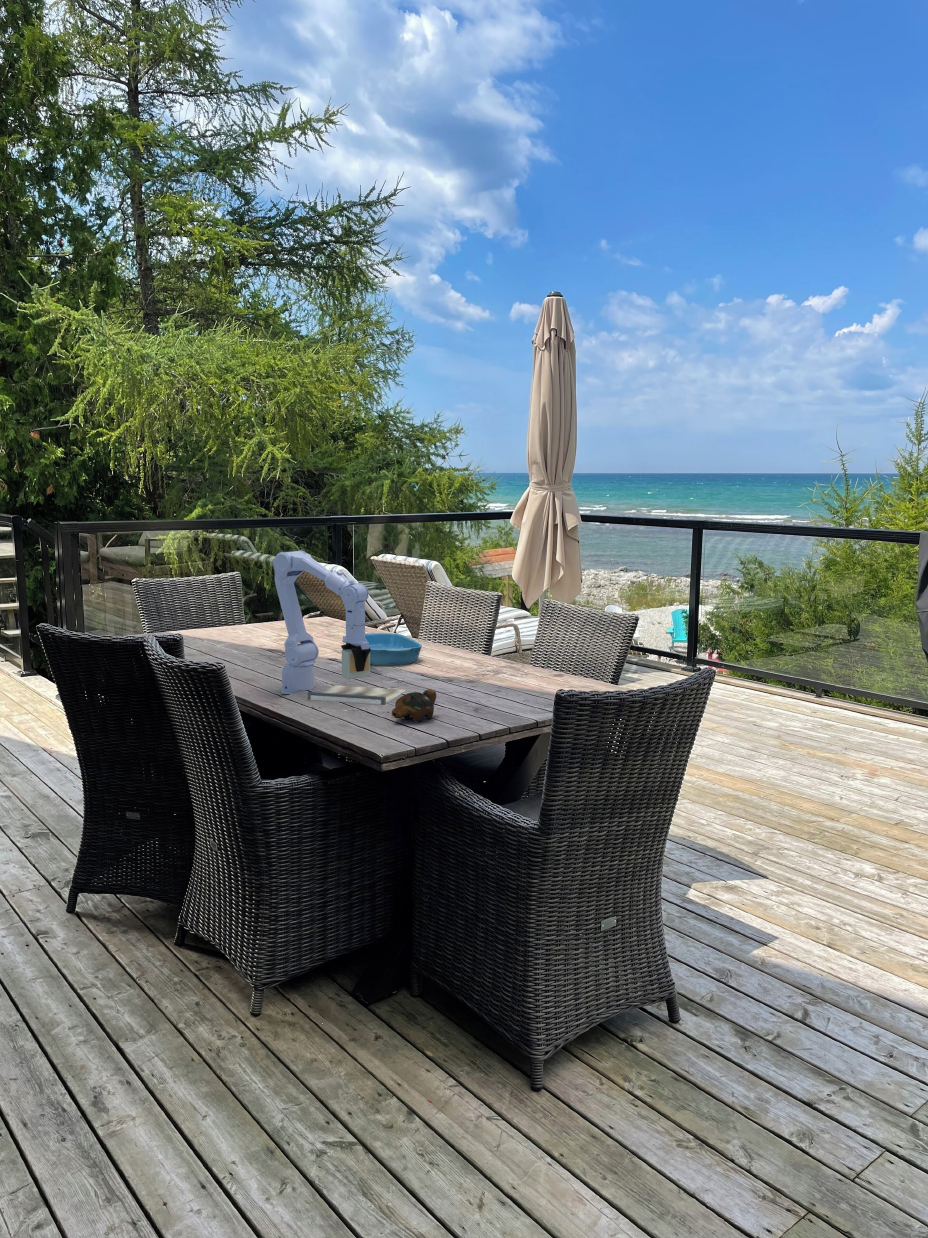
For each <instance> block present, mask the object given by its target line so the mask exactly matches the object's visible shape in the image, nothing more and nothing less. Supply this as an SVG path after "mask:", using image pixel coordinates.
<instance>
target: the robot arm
mask: <svg viewBox="0 0 928 1238" xmlns="http://www.w3.org/2000/svg"><path fill="white" fill-rule="evenodd" d="M272 566H273V569H274V570H273V571H274V584H275V588H276V591H277V595H278V600H279V603H280V608H281V611H282V616H283V620H284V623H285V627H286V631H287V636H288V637H287V638H286V640H285V641H284V649H285V650H284V657H285V661H286V662H287V664H284V665H283V667H282V670H281V685H282V686H281V687H282V689H281V692H280V693H281V694H283V695H291V694H293V693H296V692H298V691H311V690H313V689H315V663H316V660H317V658H318V657H319V648H318V645H317V644H316V642H315V641H314V637H313V636H312V635H311V634H310V633H308V632H307V630H306V626H305V622H304V619H303V615H302V610H301V607H300V602H299V599H298V594H297V591H296V587H295V582H296V580H297V579H298V577H299V576H300V575H301V574H303V573H304V572H307V573H309V574H311V575H312V576H314V577H315V578H318V579H319V580H322V581H323V582H324V583H325V587H326V589H328V590H330V591H332V592H333V593H334V594H336V595H338V596H339V597H340V598H341V600H342V602H343V606H344V607H343V608H344V609H345V635H342V641H341V642H342V643H343V644H341V646H340V647H341V650H347V649H351V651H352V653H353V655H354V659H355V666H356V671H357V672H360V671H364V668H365V663H366V660H367V657H368V654H369V653H370V651H371V648H369V642H367V640H366V639H365V634H366V609H365V608H366V605H365V604H366V602H367V600H368V598H369V589H368V587H367V586H366V585H365V584H363V583H362V582H358V583H356V582H355V580H354V579H349V577H346V576H345V575H343V572H342V571H340V570H338V571H337V570H333V571H332V572H331V571H330V570H329V569H328V568H326V567H325V566H323V565H322V564H321V563H320V562H318V561H317V560H315V559H314V558H313V557H312V555H311V553H310V554H309V553H307V552H306V551H304V550H302V549H301V550H296V551H294V550H293V551H281V552H280V551H279V552H278V553H277V554H276V555H275V557H274V559H273V561H272Z"/></svg>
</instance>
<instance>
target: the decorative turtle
mask: <svg viewBox="0 0 928 1238" xmlns="http://www.w3.org/2000/svg"><path fill="white" fill-rule="evenodd" d="M436 700H437V693H436V691H435V689H426V690H424V691H423V692H419V691H413V692H408V693H406V694H403V695H402V696H400V697H399V698H398V699H396V701H395V704H394V708H393V709H392V710H391V715H392V716H393V718H395V719H396V720H397V719H404V720H408V719H409V718H410V717H411V718H412V720H413V721H414V722H415V723H420V721H421V720H422V719H423V718H424V719H426V720H427V721H428V720H429V721H431V719H433V715H434V712H435V703H436Z"/></svg>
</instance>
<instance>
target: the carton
mask: <svg viewBox="0 0 928 1238" xmlns="http://www.w3.org/2000/svg"><path fill="white" fill-rule="evenodd" d="M341 677H343V678H345V679H347V680H355V679H363V678H371V664H370V653H369V654H368V657H367V660H366V663H365V668H364V671H360V672H357V671H356V666H355V659H354V655H353V653H352V651H351V649H347V650H343V649H341Z"/></svg>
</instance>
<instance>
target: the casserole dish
mask: <svg viewBox="0 0 928 1238" xmlns="http://www.w3.org/2000/svg"><path fill="white" fill-rule="evenodd" d="M365 639H366V640H367V642H369V648H371V651H370V665H372V666H378V667H383V666H396V665H398V666H399V665H410V664H414V663H415V662H416V661H417V660H418V658H419V656H420V652H421V650H422V648H423V645H422V644H421V643H420V642H418V641H416V640H414V639H413V638H410V637H408V636H405V635H404V634H401V633H388V632H387V633H386V632H385V633H384V632H383V633H382V632H368V633H365Z"/></svg>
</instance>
